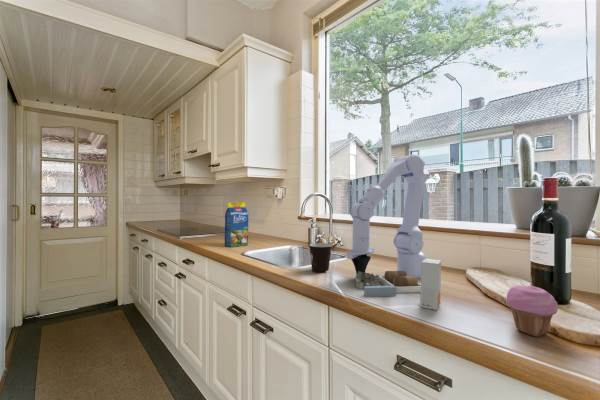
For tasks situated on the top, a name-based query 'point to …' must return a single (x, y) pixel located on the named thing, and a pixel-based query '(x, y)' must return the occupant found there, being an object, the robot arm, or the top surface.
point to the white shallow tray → (401, 289)
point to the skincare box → (430, 283)
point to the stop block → (379, 291)
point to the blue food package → (236, 225)
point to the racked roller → (390, 275)
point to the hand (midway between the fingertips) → (360, 276)
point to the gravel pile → (366, 280)
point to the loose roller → (405, 281)
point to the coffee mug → (320, 257)
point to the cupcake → (531, 309)
